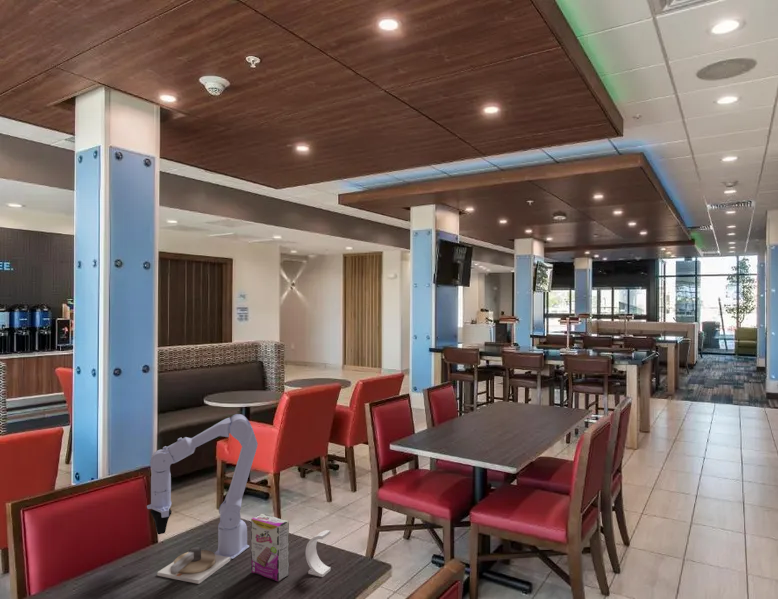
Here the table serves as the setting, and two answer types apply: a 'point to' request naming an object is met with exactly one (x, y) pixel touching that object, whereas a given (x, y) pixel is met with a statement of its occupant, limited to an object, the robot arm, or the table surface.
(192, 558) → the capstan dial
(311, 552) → the headphone stand
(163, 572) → the base plate
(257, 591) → the table surface
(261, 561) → the candy bar box
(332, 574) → the table surface
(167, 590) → the table surface
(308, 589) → the table surface
